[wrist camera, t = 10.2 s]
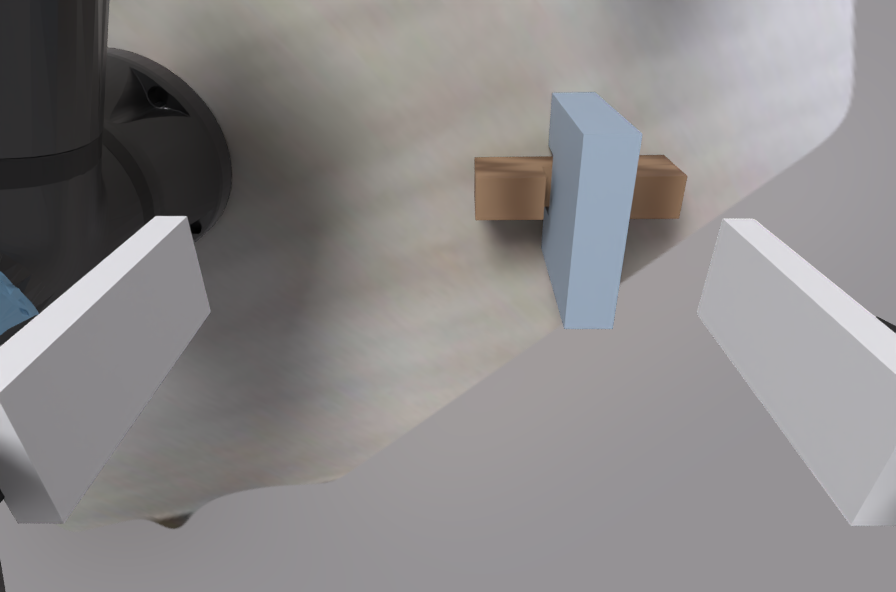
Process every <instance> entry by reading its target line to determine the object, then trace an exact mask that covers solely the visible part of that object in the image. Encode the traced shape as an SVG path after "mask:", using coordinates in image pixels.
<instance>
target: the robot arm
mask: <svg viewBox="0 0 896 592" xmlns="http://www.w3.org/2000/svg"><path fill="white" fill-rule="evenodd" d="M108 17H109V0H0V502H1V501H2V500H3V499H4V501H5V502H6V504H7V506H8V507H9V509H10V511H11V513H12V514H13V516H14V518H15V519H16V521H17V523H65V521H66V520H67V518H68V517H69V516H70V514H71V513H72V511H73V510H74V508H75V507H76V505H77V504H78V503H79V501H80V500H81V498H82V497H83V495H84V494H85V492H86V491H87V490H88V488H89V487H90V485H91V484H92V482H93V481H94V480H95V478H96V477H97V475H98V474H99V472H100V471H101V469H102V468H103V467H104V465H105V464H106V462H107V461H108V459H109V458H110V456H111V455H112V454H113V452H114V451H115V449H116V448H117V446H118V445H119V443H120V442H121V441H122V439H123V438H124V436H125V435H126V433H127V432H128V431H129V429H130V428H131V426H132V425H133V423H134V422H135V420H136V419H137V418H138V416H139V415H140V413H141V412H142V410H143V409H144V407H145V406H146V405H147V403H148V402H149V400H150V399H151V397H152V396H153V395H154V393H155V392H156V390H157V389H158V387H159V386H160V384H161V383H162V382H163V380H164V379H165V377H166V376H167V374H168V373H169V371H170V370H171V369H172V367H173V366H174V364H175V363H176V361H177V360H178V358H179V357H180V356H181V354H182V353H183V351H184V350H185V348H186V347H187V346H188V344H189V343H190V341H191V340H192V338H193V337H194V335H195V334H196V333H197V331H198V330H199V328H200V327H201V325H202V324H203V322H204V321H205V320H206V318H207V317H208V315H209V314H210V312H211V310H210V306H209V302H208V298H207V294H206V290H205V286H204V282H203V278H202V274H201V270H200V266H199V262H198V258H197V254H196V250H195V246H194V242H195V241H197V240H198V239H199V238H200V237H202V236H203V235H204V234H205V233H206V232H207V231H208V230H209V229H210V228H211V227H212V226H213V225H214V224H215V222H216V221H217V220H218V219H219V217H220V216H221V214H222V212H223V210H224V209H225V206H226V204H227V201H228V198H229V194H230V189H231V179H232V171H231V161H230V156H229V151H228V147H227V144H226V141H225V139H224V136H223V134H222V131H221V129H220V127H219V125H218V123H217V121H216V120H215V118H214V116H213V115H212V113H211V112H210V110H209V109H208V107H207V106H206V105H205V103H204V102H203V101H202V100H201V98H200V97H199V96H198V95H197V94H196V93H195V92H194V91H193V90H192V89H191V88H190V87H189V86H188V85H187V84H186V83H185V82H184V81H183V80H181V79H180V78H179V77H178V76H176V75H175V74H174V73H172V72H171V71H170V70H168V69H167V68H165V67H163V66H162V65H160V64H158V63H156V62H155V61H152V60H150V59H148V58H146V57H144V56H141V55H139V54H136V53H133V52H129V51H125V50H121V49H116V48H107V39H108ZM697 314H698V316H699V317H700V319H701V320H702V322H703V323H704V324H705V326H706V327H707V329H708V330H709V331H710V333H711V334H712V336H713V337H714V338H715V340H716V341H717V342H718V344H719V345H720V347H721V348H722V349H723V351H724V352H725V353H726V355H727V356H728V357H729V359H730V360H731V362H732V363H733V364H734V366H735V367H736V369H737V370H738V371H739V373H740V374H741V375H742V377H743V378H744V380H745V381H746V382H747V384H748V385H749V386H750V388H751V389H752V391H753V392H754V393H755V395H756V396H757V397H758V399H759V400H760V401H761V403H762V404H763V405H764V407H765V408H766V410H767V411H768V413H769V414H770V415H771V417H772V418H773V419H774V421H775V422H776V424H777V425H778V426H779V428H780V429H781V431H782V432H783V433H784V434H785V436H786V437H787V439H788V440H789V441H790V443H791V444H792V445H793V447H794V448H795V450H796V451H797V453H798V454H799V455H800V456H801V458H802V459H803V461H804V462H805V464H806V465H807V466H808V468H809V469H810V470H811V472H812V473H813V474H814V476H815V477H816V479H817V480H818V481H819V483H820V484H821V486H822V487H823V488H824V490H825V491H826V492H827V494H828V495H829V497H830V498H831V499H832V501H833V502H834V503H835V505H836V506H837V508H838V509H839V510H840V512H841V513H842V514H843V516H844V517H845V518H846V520H847V521H848V523H849V524H850V525H851V526H896V326H895V325H893V324H891V323H889V322H887V321H885V320H883V319H881V318H879V317H875V316H873V315H872V314H871V313H870V312H868V311H867V310H866V309H865V308H864V307H862V306H861V305H860V304H858V303H857V302H856V301H855V300H854V299H852V298H851V297H850V296H849V295H848V294H846V293H845V292H844V291H843V290H841V289H840V288H839V287H837V286H836V285H835V284H834V283H832V282H831V281H830V280H829V279H828V278H826V277H825V276H824V275H823V274H822V273H820V272H819V271H818V270H816V269H815V268H814V267H813V266H812V265H810V264H809V263H808V262H807V261H805V260H804V259H803V258H802V257H800V256H799V255H798V254H797V253H796V252H794V251H793V250H792V249H791V248H789V247H788V246H787V245H786V244H784V243H783V242H782V241H781V240H780V239H778V238H777V237H776V236H775V235H773V234H772V233H771V232H770V231H768V230H767V229H766V228H765V227H763V226H762V225H761V224H760V223H759V222H757V221H756V220H755V219H723V220H722V223H721V227H720V231H719V235H718V238H717V241H716V245H715V249H714V252H713V256H712V260H711V263H710V267H709V271H708V274H707V278H706V282H705V285H704V289H703V292H702V296H701V300H700V303H699V307H698V311H697ZM0 592H5V586H4V580H3V574H2V568H1V562H0Z"/></svg>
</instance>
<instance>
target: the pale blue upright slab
mask: <svg viewBox="0 0 896 592" xmlns="http://www.w3.org/2000/svg"><path fill="white" fill-rule="evenodd" d="M641 140H642V133H641V132H640V131H639V130H638V129H636V128H635V127H634V126H633V125H632V124H631V123H630V122H628V121H627V120H626V119H625V118H624V117H623V116H622V115H620V114H619V113H618V112H617V111H616V110H615V109H614V108H612V107H611V106H610V105H609V104H608V103H607V102H606V101H605V100H603V99H602V98H601V97H600V96H599V95H598V94H597V93H595V92H579V93H552V103H551V118H550V132H549V147H550V149H551V151H552V154H553V164H552V178H551V191H550V204H549V207H544V217H543V232H542V246H541V248H542V252H543V255H544V259H545V263H546V266H547V270H548V273H549V277H550V280H551V284H552V287H553V291H554V294H555V298H556V302H557V305H558V309H559V312H560V316H561V319H562V323H563V326H564V329H613V324H614V316H615V311H616V304H617V297H618V290H619V284H620V278H621V271H622V265H623V258H624V252H625V245H626V239H627V232H628V225H629V219H630V212H631V206H632V199H633V193H634V186H635V180H636V173H637V166H638V160H639V153H640V147H641Z"/></svg>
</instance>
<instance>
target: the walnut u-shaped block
mask: <svg viewBox="0 0 896 592" xmlns="http://www.w3.org/2000/svg"><path fill="white" fill-rule="evenodd" d="M552 164H553V157H475V218H476V220H543V217H544V207H549V204H550V191H551V178H552ZM686 181H687V175H686V174H685V173H683V172H682V171H681V170H680V169H679V168H678V167H677V166H676V165H674V164H673V163H672V162H671V161H670V160H669V159H668V158H667V157H665V156H664V155H639V160H638V166H637V173H636V180H635V186H634V193H633V199H632V206H631V212H630V219H679V216H680V211H681V206H682V201H683V196H684V191H685V186H686Z"/></svg>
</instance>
